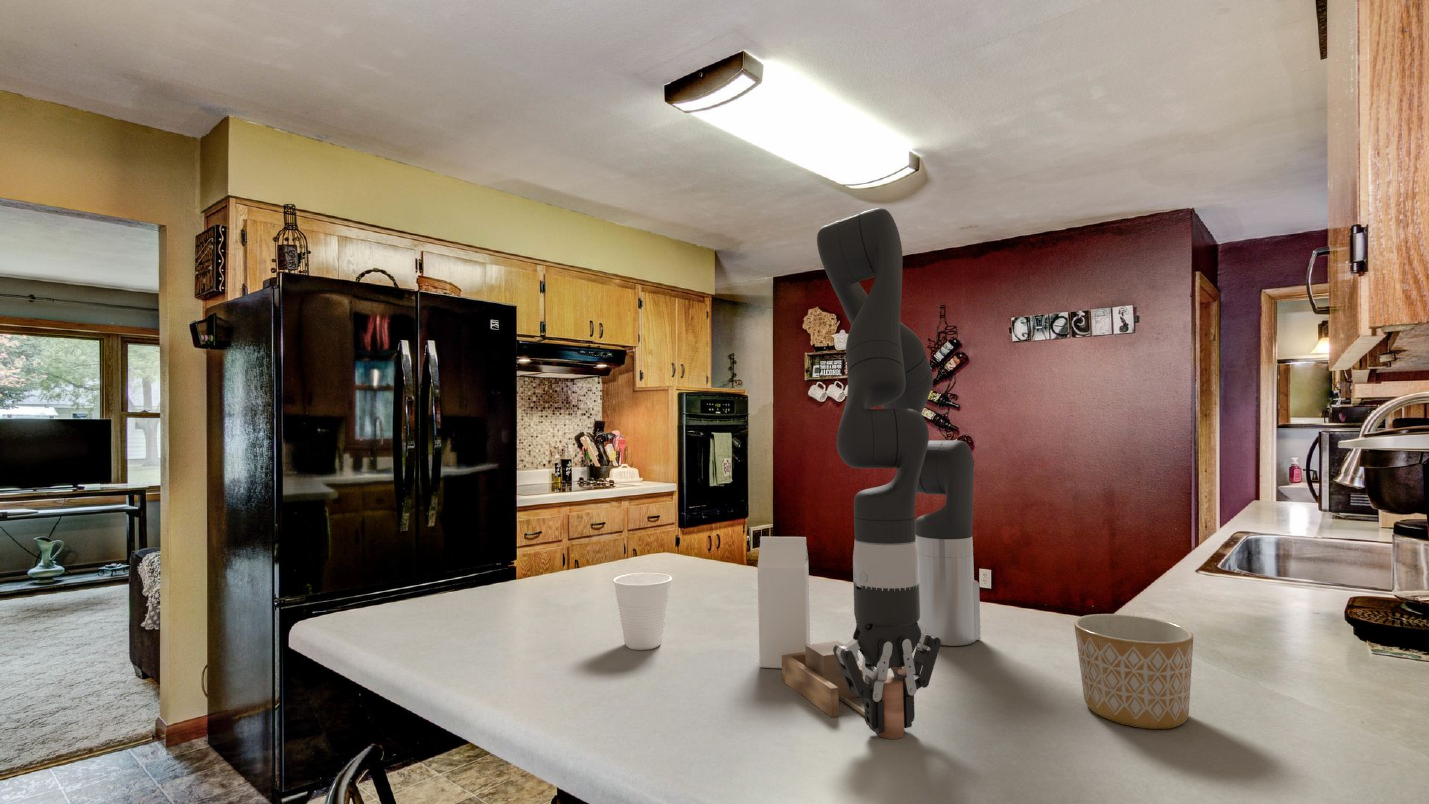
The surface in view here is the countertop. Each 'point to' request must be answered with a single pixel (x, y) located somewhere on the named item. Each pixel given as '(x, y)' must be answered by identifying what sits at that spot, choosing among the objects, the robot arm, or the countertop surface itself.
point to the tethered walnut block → (892, 695)
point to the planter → (1135, 669)
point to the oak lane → (810, 683)
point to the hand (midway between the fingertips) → (889, 727)
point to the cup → (642, 608)
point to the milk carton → (782, 599)
